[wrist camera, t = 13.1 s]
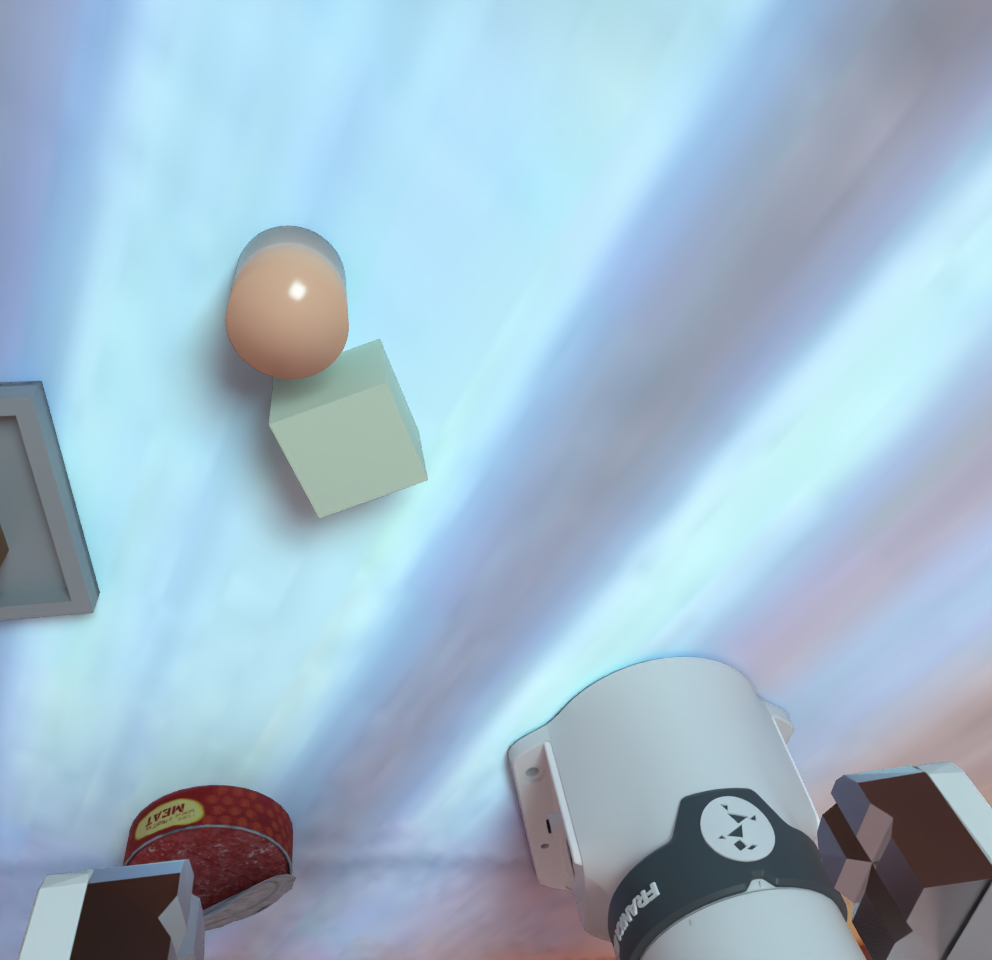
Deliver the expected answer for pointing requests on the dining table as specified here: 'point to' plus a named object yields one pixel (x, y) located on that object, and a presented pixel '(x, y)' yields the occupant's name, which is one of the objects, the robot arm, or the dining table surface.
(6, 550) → the walnut block
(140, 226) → the dining table surface
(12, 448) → the tray
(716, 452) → the dining table surface
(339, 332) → the terracotta cylinder
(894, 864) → the robot arm
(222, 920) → the canned food
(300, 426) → the green block
